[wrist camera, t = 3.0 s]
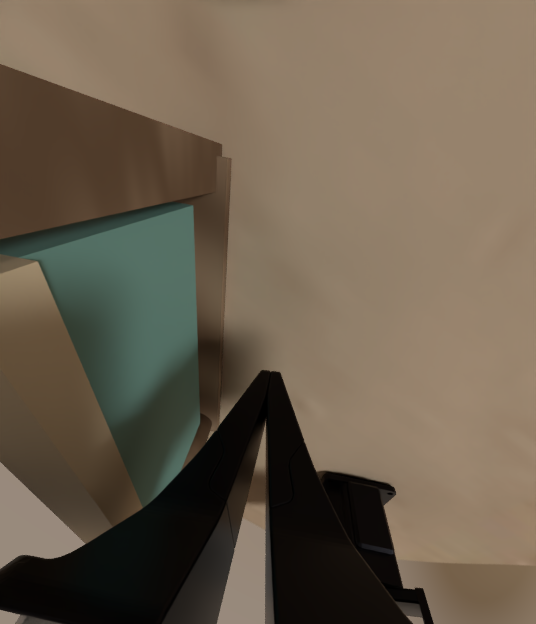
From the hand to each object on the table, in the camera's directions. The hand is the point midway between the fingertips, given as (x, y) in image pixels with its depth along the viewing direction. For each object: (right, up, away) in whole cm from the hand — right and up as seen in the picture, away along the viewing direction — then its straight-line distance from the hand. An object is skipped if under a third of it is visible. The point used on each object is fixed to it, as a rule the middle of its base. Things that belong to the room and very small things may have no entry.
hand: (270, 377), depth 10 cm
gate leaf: (-5, +1, +2) cm, 5 cm away
